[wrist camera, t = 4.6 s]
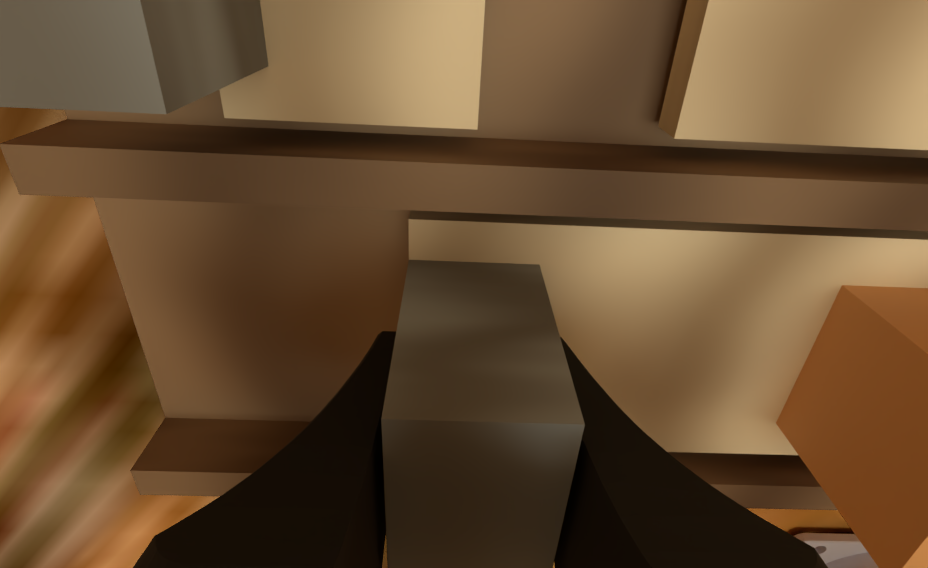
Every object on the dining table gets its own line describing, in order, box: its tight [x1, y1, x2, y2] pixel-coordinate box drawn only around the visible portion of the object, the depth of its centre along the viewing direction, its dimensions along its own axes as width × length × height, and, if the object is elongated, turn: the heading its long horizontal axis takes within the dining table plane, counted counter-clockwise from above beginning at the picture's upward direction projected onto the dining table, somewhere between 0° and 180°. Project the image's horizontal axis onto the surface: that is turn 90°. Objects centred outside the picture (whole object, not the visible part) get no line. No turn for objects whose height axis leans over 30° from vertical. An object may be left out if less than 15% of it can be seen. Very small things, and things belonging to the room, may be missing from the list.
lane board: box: [0, 0, 928, 510], centre depth 10 cm, size 24×19×6 cm
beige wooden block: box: [381, 210, 928, 568], centre depth 12 cm, size 16×7×6 cm, turn 87°
